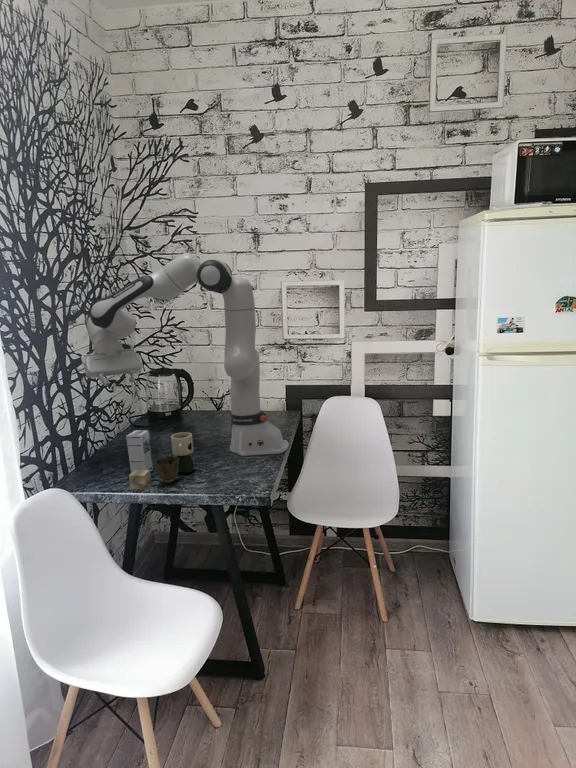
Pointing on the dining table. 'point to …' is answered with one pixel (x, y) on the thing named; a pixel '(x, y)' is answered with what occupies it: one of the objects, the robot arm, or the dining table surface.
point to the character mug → (183, 450)
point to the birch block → (140, 479)
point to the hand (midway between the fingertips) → (120, 383)
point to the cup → (167, 468)
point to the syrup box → (139, 450)
